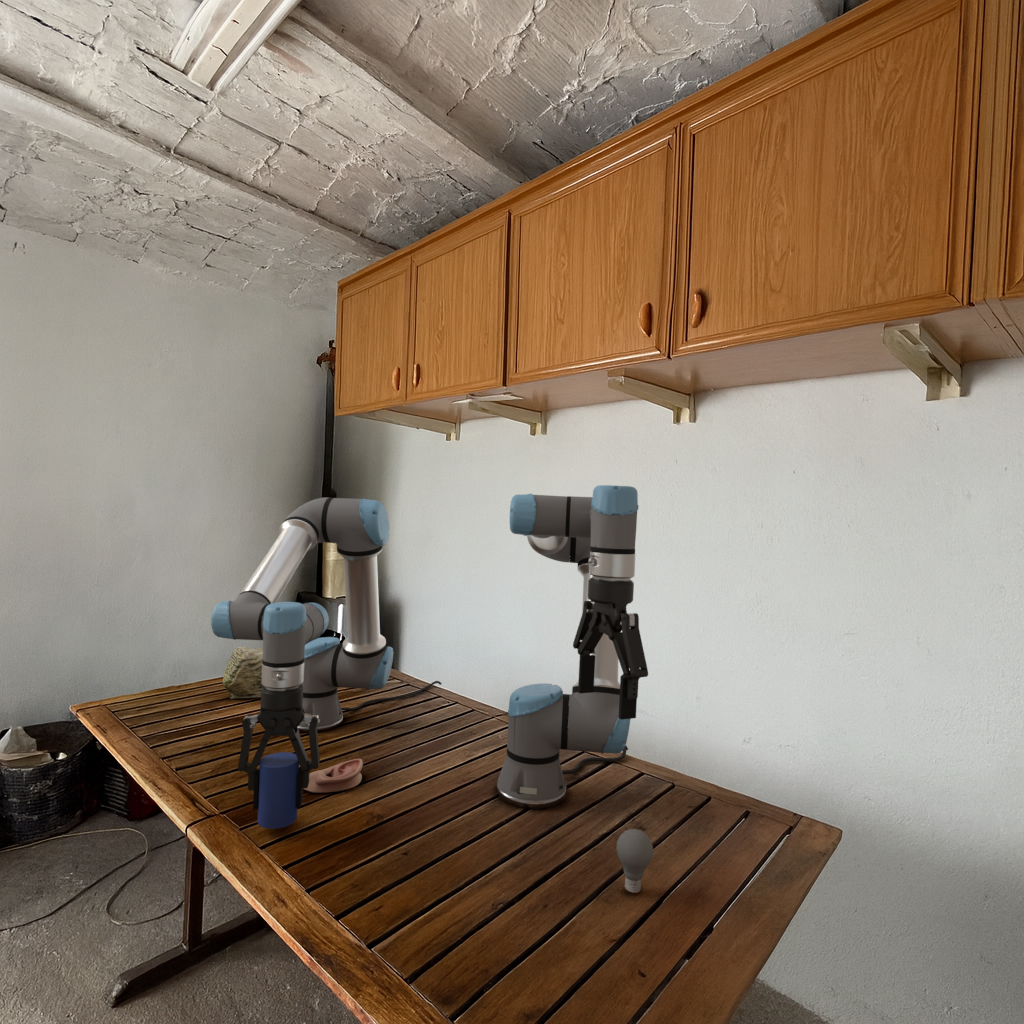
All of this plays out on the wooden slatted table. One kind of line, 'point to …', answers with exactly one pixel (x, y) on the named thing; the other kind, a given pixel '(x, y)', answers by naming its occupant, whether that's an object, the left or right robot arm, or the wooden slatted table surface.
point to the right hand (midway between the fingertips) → (605, 704)
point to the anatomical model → (336, 777)
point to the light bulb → (634, 857)
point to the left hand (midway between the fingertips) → (278, 805)
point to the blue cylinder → (278, 790)
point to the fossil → (244, 673)
